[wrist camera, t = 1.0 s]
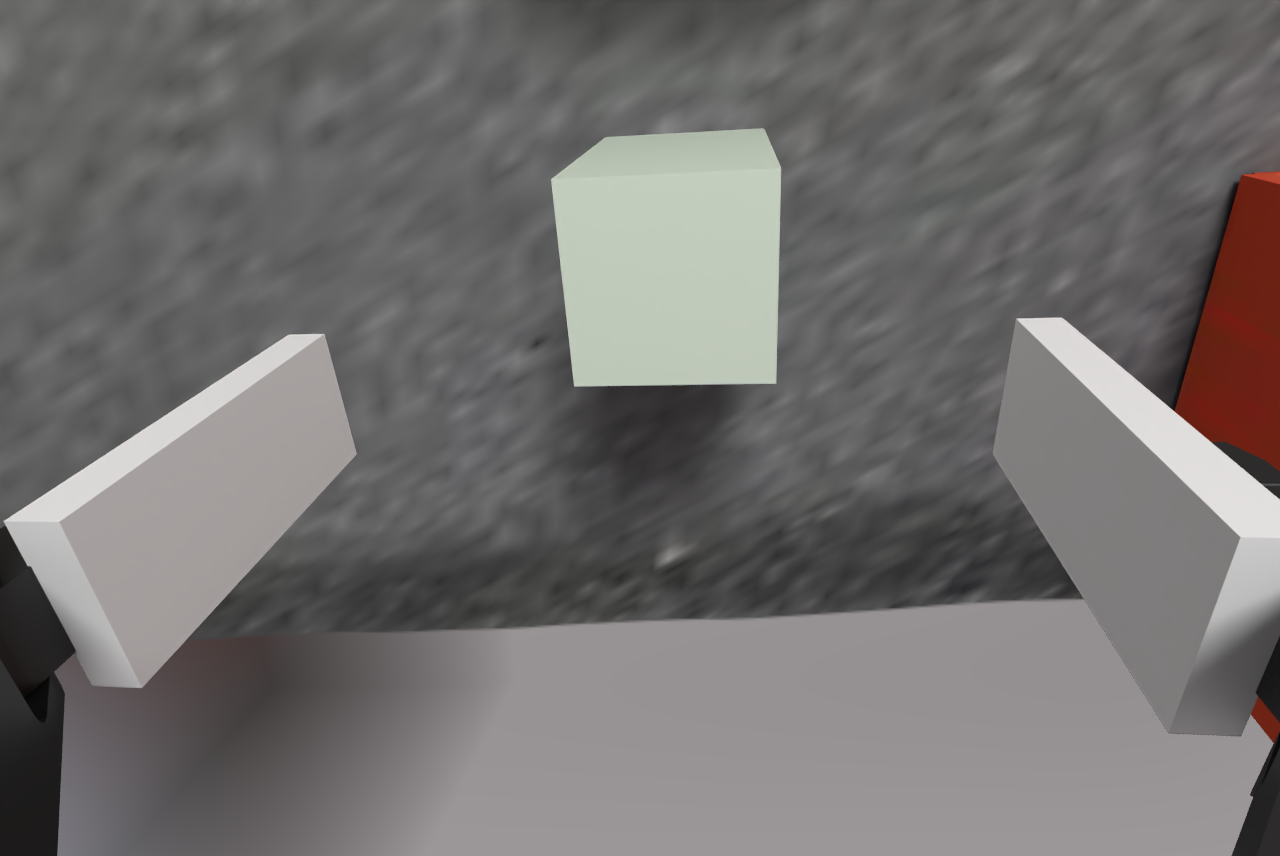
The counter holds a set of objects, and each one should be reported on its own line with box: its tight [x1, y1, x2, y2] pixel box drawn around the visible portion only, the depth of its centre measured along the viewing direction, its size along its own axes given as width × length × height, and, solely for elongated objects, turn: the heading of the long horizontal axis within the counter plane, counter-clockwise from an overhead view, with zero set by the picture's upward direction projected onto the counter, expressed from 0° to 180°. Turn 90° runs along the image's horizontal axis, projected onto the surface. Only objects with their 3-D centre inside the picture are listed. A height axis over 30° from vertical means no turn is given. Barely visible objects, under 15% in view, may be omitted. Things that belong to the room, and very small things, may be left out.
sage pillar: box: [551, 128, 781, 386], centre depth 25 cm, size 6×6×10 cm
